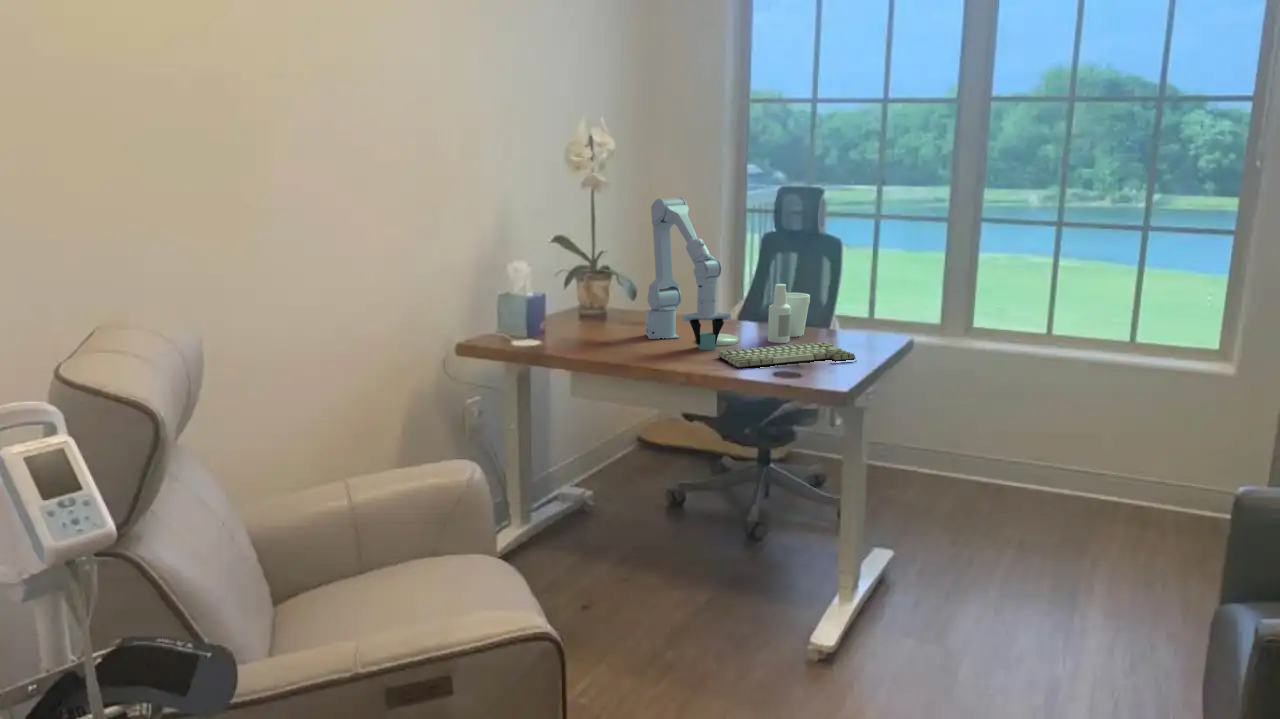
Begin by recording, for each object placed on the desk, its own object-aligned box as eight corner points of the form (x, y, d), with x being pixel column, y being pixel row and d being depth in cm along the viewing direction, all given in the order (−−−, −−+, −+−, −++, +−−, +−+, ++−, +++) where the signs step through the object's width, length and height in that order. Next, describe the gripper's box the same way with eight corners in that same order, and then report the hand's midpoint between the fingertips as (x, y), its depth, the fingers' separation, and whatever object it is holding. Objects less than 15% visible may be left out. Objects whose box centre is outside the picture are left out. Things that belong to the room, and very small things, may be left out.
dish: (702, 346, 311) (702, 342, 311) (692, 337, 323) (692, 334, 323) (743, 344, 313) (743, 341, 313) (732, 336, 326) (732, 332, 325)
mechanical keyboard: (741, 374, 280) (742, 362, 279) (713, 359, 297) (713, 348, 296) (860, 364, 292) (860, 352, 291) (826, 351, 310) (827, 340, 309)
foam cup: (809, 337, 324) (811, 297, 321) (780, 337, 324) (782, 297, 321) (805, 331, 333) (807, 292, 330) (777, 331, 334) (779, 292, 331)
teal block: (700, 350, 306) (700, 335, 305) (697, 346, 310) (697, 332, 309) (715, 349, 307) (715, 335, 306) (711, 346, 311) (711, 332, 310)
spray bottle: (788, 344, 315) (791, 286, 311) (766, 343, 316) (768, 285, 312) (790, 339, 321) (792, 283, 317) (768, 338, 323) (770, 282, 319)
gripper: (686, 302, 300) (685, 347, 303) (733, 301, 303) (732, 345, 306) (681, 298, 307) (680, 342, 310) (727, 297, 309) (726, 340, 313)
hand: (706, 343), depth 308 cm, fingers closed on teal block, 4 cm apart
